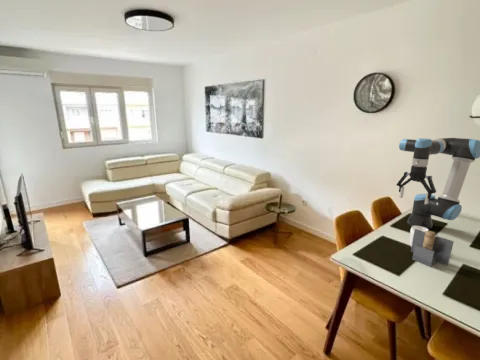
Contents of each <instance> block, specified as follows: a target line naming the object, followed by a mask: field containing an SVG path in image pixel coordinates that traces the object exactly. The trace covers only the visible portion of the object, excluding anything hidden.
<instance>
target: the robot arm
mask: <svg viewBox="0 0 480 360" xmlns="http://www.w3.org/2000/svg"><path fill="white" fill-rule="evenodd" d="M398 148H399V150H400V151H403V152H410V153H413V155H412V162H411V167H410V172H409V171H405V172H404V173H403V176H402V177H401V178H400V180H398V182H397V183H396V186H398V192H399V196H398V197H399V199H403V197H404V192H405V185H407V184H409V183H410V182H411V181H413V182H416V183H420V184H421V185H422V186H423V188H424V189H425V190H426V193H419V194H415V196H414V199H413V205H412V210H411V211H412V212H411V214H410V215H409V217H408V219H407V221H406V222H407V225H409V226H411V227H412V226H422V227H425V228H427V229H428V230H430V229H432V228H433V225H434V223H433V219H432V216H434V217H436V218H440V219H443V220H446V221H447V220H448V221H454V220H456V218H458V216H460V214H461V213H462V205H461V204H460V203H461V202H460V200H459V196H460V194H461V190H462V188H463V186H464V183H465V180H466V176H467V173H468V171H469V168H470V166H471V164H472V163H474V162H475V160H476V159H480V140H479V139H475V138H463V137H461V138H459V137H442V138H441V137H440V138H434V139H431V138H417V139H412V138H411V139H408V138H403V139H401V140H400V141H399V144H398ZM438 154H443V155H448V156H451V159H452V160H453V162H452V165H451V168H450V171H449V173H448V175H447V176H448V177H447V179H446V182H445V185H444V188H443V191H442V193H441V195H438V197H437V198H436V196H435V195H434V194H435V193H437V190H436V188H435V184H434V181H433V176H432V175H427V171H428V170H427V169H428V165H429V159H430V156H431V155H438ZM408 176H409V178H408V179H407V180H406V178H407V177H408ZM425 179H426V180H427V182H428V183H427V182H426V180H425ZM404 180H406V181H404ZM403 181H404V182H403Z"/></svg>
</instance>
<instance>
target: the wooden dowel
mask: <svg viewBox="0 0 480 360" xmlns="http://www.w3.org/2000/svg"><path fill="white" fill-rule="evenodd" d="M436 234H437V233H436V232H435V231H432V230H429V231H426V232H425V237H424V242H423V247H425V248H428V249H430V250H432V248H433V244H434V239H435V235H436Z"/></svg>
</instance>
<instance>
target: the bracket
mask: <svg viewBox="0 0 480 360" xmlns="http://www.w3.org/2000/svg"><path fill="white" fill-rule="evenodd" d="M424 237H425V232H423V231H420V230H417V229H415V231H414V236H413V242H412V247H411V246H410V252H411V253H412V259H411V260H413V261H414V262H418V263H420V264H422V265H424V266H426V267H430V268H431V267H433V266H434V265H435V264H436V263H438V264H441V265H444V266H446V267H448V266H449V264H450V259H451V255H452V250H453V246H454V243H455V242H454V240H451V239H447V238H445V237H442V236H439V235H436V234H435V239H434V244H433V248H432V250H430V249H428V248H425V247H423V242H424Z"/></svg>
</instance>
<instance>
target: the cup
mask: <svg viewBox="0 0 480 360" xmlns="http://www.w3.org/2000/svg"><path fill="white" fill-rule="evenodd" d="M415 229H417V230H420V231H423V232H426V231H430V229H427V228H425V227H422V226H411V228H410V231H409V245H410V248H411V247H412V242H413V236H414V231H415Z"/></svg>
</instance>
